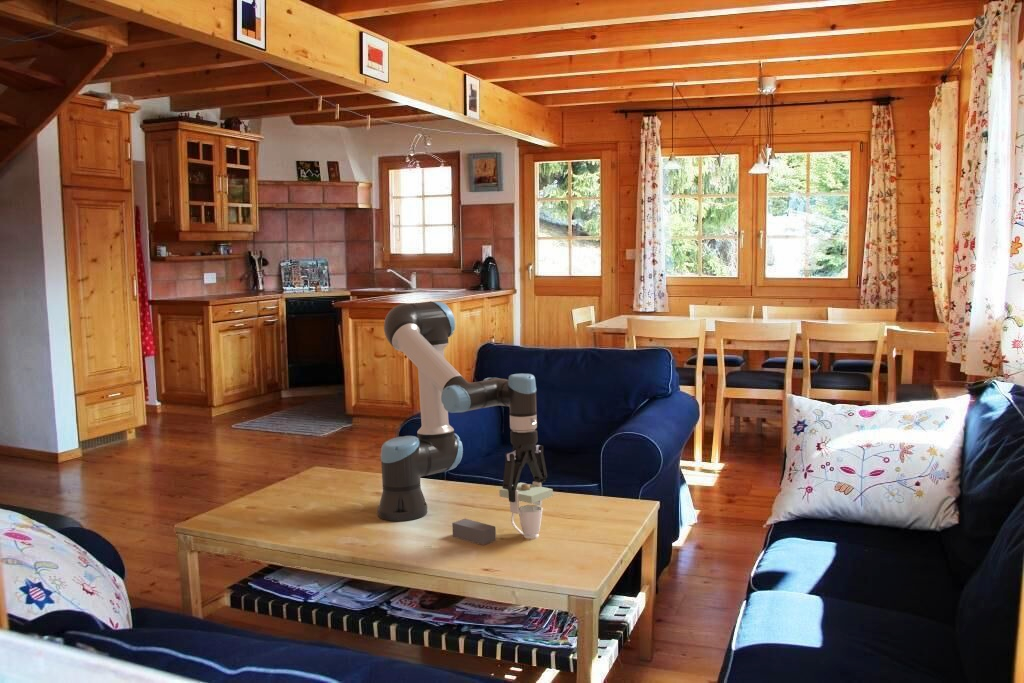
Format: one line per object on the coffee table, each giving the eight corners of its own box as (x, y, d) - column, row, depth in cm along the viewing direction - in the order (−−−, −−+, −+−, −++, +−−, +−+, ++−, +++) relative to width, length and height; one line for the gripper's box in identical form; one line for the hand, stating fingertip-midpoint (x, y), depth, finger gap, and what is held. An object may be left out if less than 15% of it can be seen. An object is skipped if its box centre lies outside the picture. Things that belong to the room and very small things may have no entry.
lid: (499, 496, 245) (499, 485, 244) (520, 489, 251) (520, 478, 251) (531, 503, 237) (531, 492, 236) (552, 496, 243) (552, 484, 243)
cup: (534, 542, 240) (534, 513, 239) (505, 536, 245) (504, 508, 245) (548, 534, 245) (547, 506, 245) (519, 529, 251) (518, 501, 250)
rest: (452, 536, 246) (452, 522, 246) (465, 532, 250) (465, 518, 249) (483, 545, 238) (482, 531, 238) (495, 540, 242) (495, 526, 241)
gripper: (507, 438, 232) (510, 520, 234) (558, 424, 248) (561, 501, 250) (486, 434, 237) (490, 515, 239) (538, 421, 253) (541, 497, 255)
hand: (526, 508), depth 244 cm, fingers closed on lid, 9 cm apart
